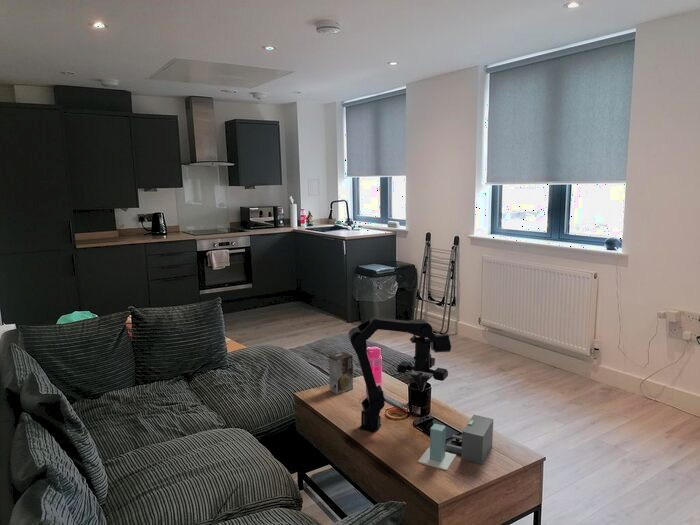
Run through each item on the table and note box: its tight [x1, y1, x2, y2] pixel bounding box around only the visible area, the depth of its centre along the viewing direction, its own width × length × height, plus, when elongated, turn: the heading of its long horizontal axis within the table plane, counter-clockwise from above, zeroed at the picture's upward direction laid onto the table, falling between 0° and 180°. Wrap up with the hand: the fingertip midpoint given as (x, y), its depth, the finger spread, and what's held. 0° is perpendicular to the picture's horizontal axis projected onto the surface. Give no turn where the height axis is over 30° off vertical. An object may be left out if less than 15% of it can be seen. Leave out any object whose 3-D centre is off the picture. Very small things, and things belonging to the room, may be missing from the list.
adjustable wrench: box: [383, 390, 409, 411], centre depth 211 cm, size 25×6×2 cm, turn 32°
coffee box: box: [328, 351, 354, 395], centre depth 223 cm, size 9×6×16 cm
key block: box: [429, 423, 447, 462], centre depth 166 cm, size 4×4×11 cm
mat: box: [417, 446, 457, 471], centre depth 167 cm, size 10×10×1 cm
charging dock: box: [445, 414, 494, 466], centre depth 172 cm, size 14×14×10 cm
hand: (421, 391), depth 190 cm, fingers closed
